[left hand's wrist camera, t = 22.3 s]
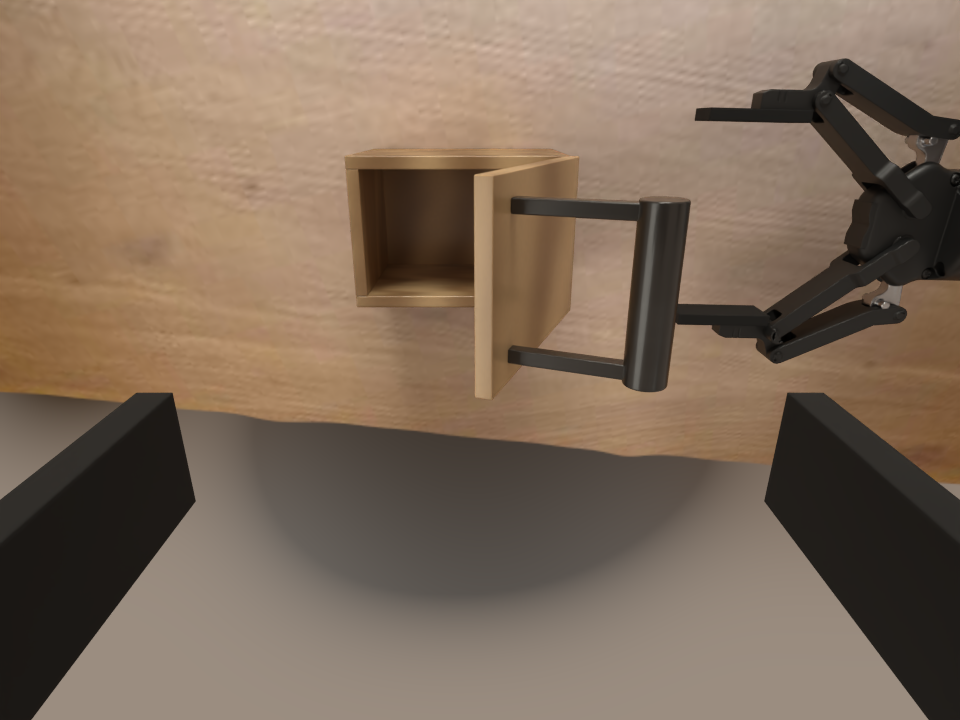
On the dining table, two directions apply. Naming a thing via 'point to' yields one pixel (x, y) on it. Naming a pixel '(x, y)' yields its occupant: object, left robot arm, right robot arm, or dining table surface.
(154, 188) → the dining table surface
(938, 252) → the right robot arm
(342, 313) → the dining table surface
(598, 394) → the dining table surface
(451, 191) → the chest
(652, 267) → the lid
